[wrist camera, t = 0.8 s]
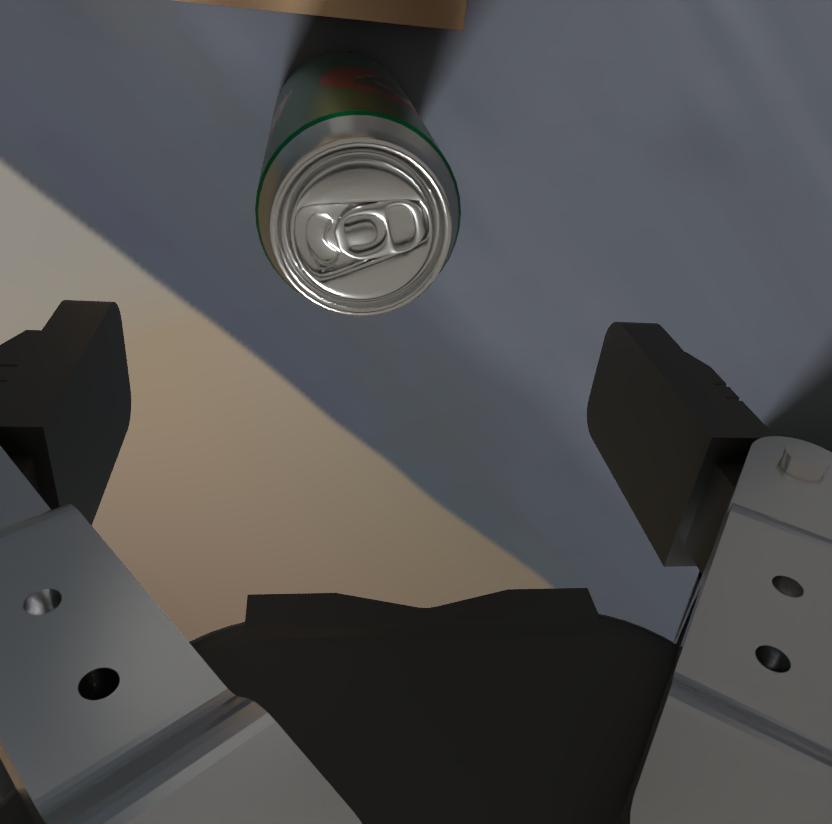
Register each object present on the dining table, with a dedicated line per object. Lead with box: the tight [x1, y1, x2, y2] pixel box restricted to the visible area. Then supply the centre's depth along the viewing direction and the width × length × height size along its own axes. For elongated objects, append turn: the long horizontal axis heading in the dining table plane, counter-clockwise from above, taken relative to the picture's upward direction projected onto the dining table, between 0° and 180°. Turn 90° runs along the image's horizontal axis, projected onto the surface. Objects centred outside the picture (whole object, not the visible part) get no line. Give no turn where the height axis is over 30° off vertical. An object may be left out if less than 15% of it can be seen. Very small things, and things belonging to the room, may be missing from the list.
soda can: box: [255, 52, 461, 316], centre depth 22 cm, size 5×5×12 cm
